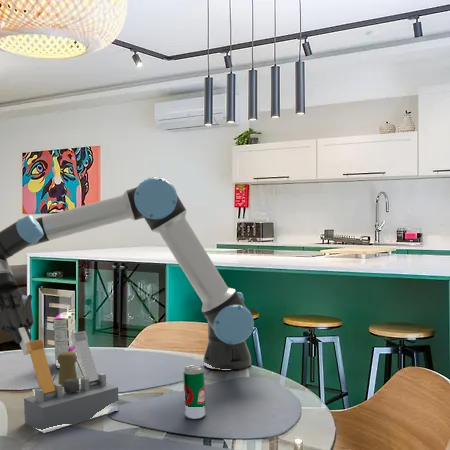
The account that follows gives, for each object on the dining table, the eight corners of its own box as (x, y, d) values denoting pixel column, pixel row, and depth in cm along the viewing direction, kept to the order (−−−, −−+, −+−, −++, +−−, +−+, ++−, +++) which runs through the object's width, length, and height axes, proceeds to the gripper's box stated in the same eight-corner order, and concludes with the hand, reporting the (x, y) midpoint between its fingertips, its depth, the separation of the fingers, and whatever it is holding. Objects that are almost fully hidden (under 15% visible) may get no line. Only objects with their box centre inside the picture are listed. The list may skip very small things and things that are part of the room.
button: (61, 390, 145) (61, 380, 145) (74, 387, 147) (74, 377, 147) (68, 393, 142) (68, 383, 142) (82, 390, 144) (81, 380, 144)
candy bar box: (62, 360, 201) (60, 312, 200) (77, 359, 201) (75, 311, 200) (54, 369, 189) (52, 318, 189) (70, 368, 190) (68, 317, 189)
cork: (73, 386, 170) (72, 348, 170) (83, 390, 165) (81, 352, 165) (53, 391, 166) (52, 352, 166) (63, 396, 162) (61, 356, 161)
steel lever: (86, 388, 148) (70, 335, 153) (99, 385, 150) (82, 333, 155) (88, 386, 147) (72, 333, 152) (101, 383, 149) (85, 330, 154)
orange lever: (41, 400, 140) (26, 344, 145) (55, 396, 142) (40, 341, 147) (43, 398, 139) (28, 341, 144) (58, 395, 141) (42, 339, 146)
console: (25, 423, 142) (23, 386, 141) (98, 402, 155) (96, 369, 155) (43, 433, 134) (42, 395, 134) (118, 411, 148) (117, 376, 148)
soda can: (203, 420, 139) (201, 370, 139) (182, 420, 140) (180, 370, 140) (207, 413, 144) (206, 364, 144) (187, 412, 145) (186, 364, 145)
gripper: (19, 286, 166) (48, 355, 154) (-29, 292, 157) (-1, 365, 145) (26, 269, 162) (57, 338, 150) (-22, 273, 153) (6, 347, 141)
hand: (28, 351), depth 148 cm, fingers closed
